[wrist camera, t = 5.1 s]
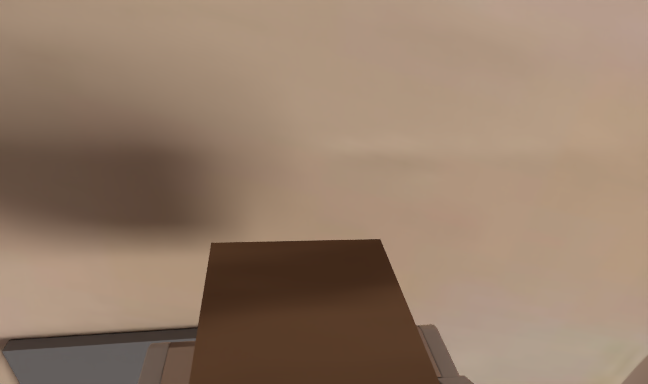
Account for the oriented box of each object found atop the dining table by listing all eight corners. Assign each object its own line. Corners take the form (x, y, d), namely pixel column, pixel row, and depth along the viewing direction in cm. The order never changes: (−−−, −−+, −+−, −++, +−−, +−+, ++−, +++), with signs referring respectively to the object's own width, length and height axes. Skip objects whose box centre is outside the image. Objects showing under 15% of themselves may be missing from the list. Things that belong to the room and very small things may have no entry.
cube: (211, 243, 10) (179, 439, 6) (379, 239, 11) (450, 408, 7) (220, 348, 13) (203, 533, 9) (355, 338, 14) (396, 502, 10)
